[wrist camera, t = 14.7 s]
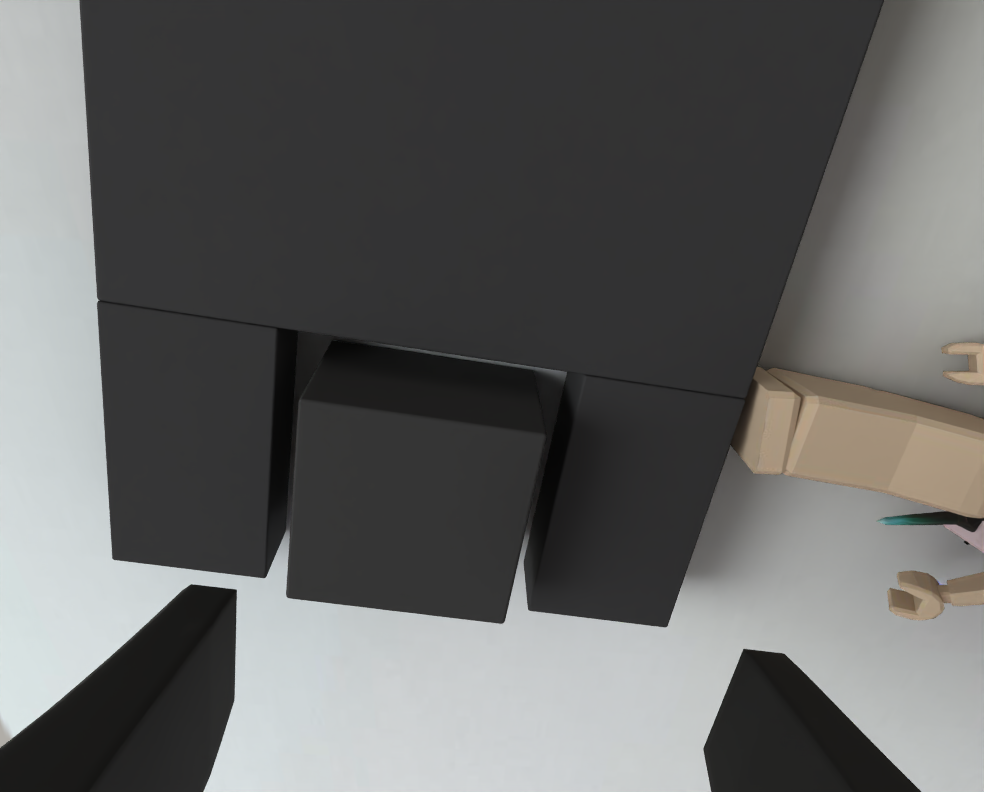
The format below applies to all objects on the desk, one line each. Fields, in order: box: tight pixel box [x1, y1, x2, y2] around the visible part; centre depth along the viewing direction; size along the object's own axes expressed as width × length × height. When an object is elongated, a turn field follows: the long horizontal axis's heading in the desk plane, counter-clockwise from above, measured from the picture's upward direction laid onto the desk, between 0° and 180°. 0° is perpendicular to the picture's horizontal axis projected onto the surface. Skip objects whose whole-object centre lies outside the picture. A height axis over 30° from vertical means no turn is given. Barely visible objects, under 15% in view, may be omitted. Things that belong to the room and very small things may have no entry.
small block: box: [286, 341, 547, 624], centre depth 17 cm, size 5×5×4 cm
